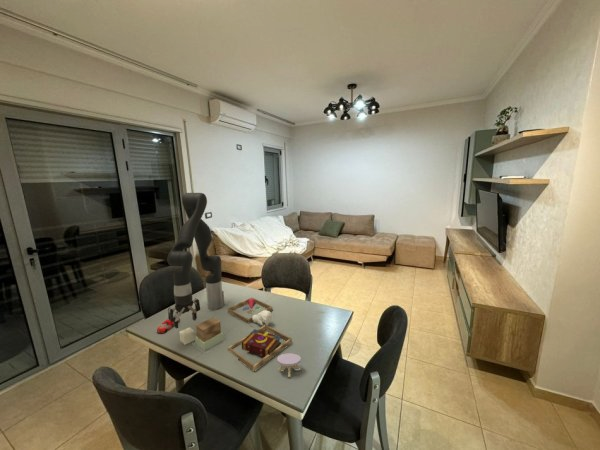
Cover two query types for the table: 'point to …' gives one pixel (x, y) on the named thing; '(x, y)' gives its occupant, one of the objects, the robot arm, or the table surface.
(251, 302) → the toy pieces
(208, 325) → the walnut brick
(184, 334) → the cream brick
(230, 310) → the pieces tray
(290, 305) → the table surface
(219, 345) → the baseplate
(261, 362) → the book tray
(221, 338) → the base brick
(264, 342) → the decorative book
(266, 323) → the cream lumpy sculpture
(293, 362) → the toy table
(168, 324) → the race car
